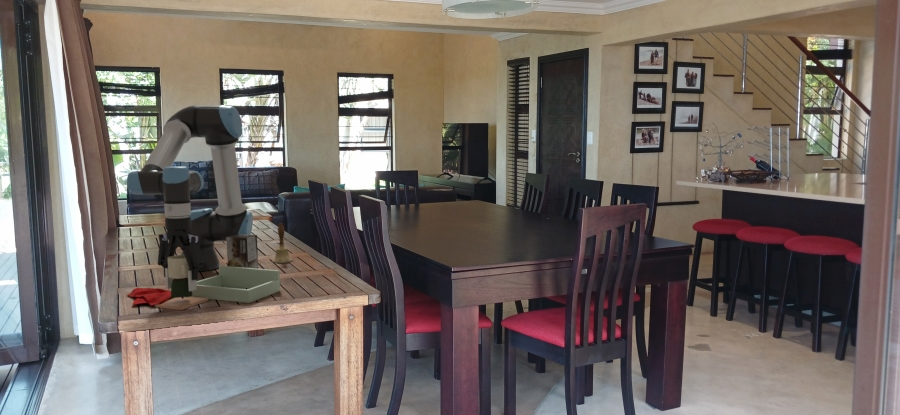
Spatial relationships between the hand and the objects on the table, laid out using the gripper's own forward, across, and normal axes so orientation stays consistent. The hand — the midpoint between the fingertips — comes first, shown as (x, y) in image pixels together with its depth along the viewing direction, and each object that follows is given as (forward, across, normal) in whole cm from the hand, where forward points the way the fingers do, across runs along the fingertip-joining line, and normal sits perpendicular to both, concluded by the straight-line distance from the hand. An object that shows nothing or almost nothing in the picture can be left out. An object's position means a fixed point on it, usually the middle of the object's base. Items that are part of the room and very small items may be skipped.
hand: (181, 288), depth 209 cm
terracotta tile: (+5, 0, 0) cm, 5 cm away
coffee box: (+5, -4, +36) cm, 36 cm away
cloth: (+4, -14, +2) cm, 15 cm away
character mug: (+3, 0, 0) cm, 3 cm away
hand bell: (+5, -10, +70) cm, 71 cm away
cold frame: (+5, +7, +16) cm, 18 cm away
